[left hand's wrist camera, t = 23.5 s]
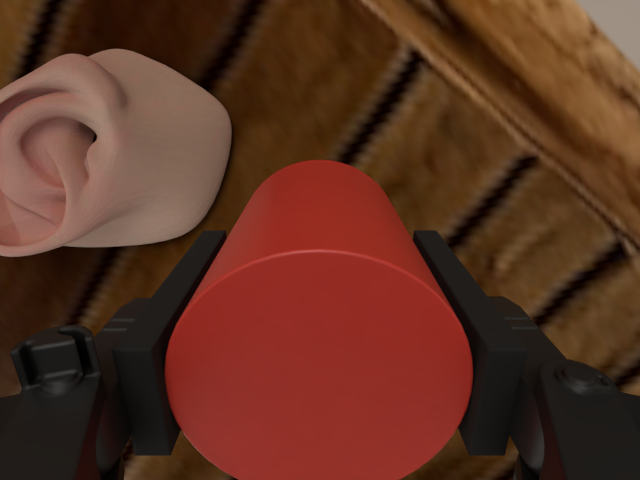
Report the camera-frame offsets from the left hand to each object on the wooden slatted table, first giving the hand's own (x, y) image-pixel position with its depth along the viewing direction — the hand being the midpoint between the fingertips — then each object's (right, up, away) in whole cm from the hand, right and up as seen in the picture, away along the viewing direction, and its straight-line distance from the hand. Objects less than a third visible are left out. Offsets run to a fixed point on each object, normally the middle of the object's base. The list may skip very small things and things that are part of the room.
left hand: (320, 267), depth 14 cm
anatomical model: (-12, +6, +9) cm, 16 cm away
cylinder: (0, +1, +2) cm, 3 cm away
